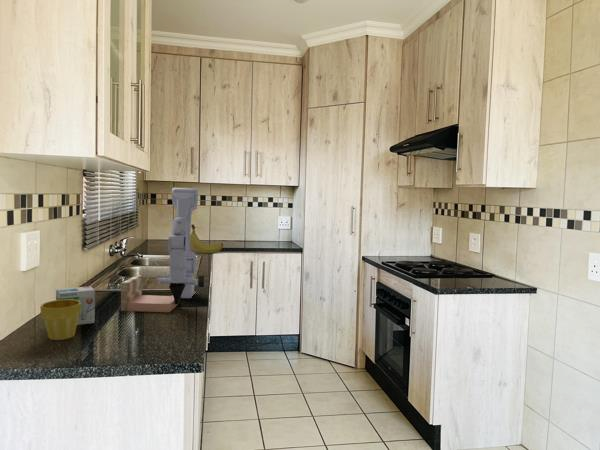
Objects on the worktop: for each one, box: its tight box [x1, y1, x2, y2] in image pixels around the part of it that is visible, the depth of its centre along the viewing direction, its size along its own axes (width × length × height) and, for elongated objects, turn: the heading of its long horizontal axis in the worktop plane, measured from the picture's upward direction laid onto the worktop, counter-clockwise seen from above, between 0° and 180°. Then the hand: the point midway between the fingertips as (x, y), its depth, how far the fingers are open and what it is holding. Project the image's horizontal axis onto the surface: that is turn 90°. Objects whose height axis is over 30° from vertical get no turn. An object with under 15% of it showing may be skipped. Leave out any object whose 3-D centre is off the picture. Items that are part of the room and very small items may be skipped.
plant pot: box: [39, 299, 81, 341], centre depth 129 cm, size 10×10×10 cm
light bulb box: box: [55, 285, 96, 326], centre depth 143 cm, size 11×7×11 cm, turn 126°
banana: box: [190, 224, 224, 254], centre depth 309 cm, size 23×6×20 cm, turn 105°
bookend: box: [120, 274, 143, 312], centre depth 165 cm, size 15×2×10 cm, turn 0°
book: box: [126, 294, 179, 313], centre depth 165 cm, size 12×15×3 cm
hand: (177, 303), depth 165 cm, fingers closed
